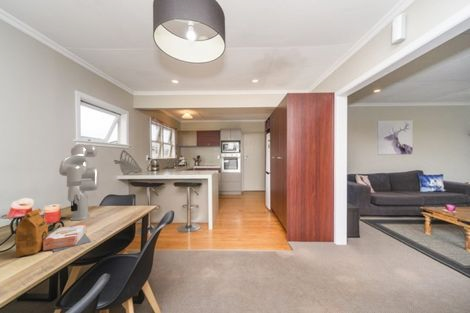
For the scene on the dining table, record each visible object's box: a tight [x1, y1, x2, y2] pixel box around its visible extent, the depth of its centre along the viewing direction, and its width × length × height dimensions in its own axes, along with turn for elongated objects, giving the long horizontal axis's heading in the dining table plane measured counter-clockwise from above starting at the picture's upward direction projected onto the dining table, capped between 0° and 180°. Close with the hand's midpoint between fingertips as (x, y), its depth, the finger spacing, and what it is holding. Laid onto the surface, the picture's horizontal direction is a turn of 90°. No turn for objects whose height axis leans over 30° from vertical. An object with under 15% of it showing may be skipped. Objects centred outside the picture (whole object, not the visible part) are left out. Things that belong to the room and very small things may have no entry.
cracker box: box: [42, 223, 87, 251], centre depth 109 cm, size 14×6×21 cm
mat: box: [51, 233, 92, 253], centre depth 108 cm, size 18×16×1 cm
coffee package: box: [14, 208, 49, 258], centre depth 98 cm, size 10×12×22 cm
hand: (74, 210), depth 122 cm, fingers closed
